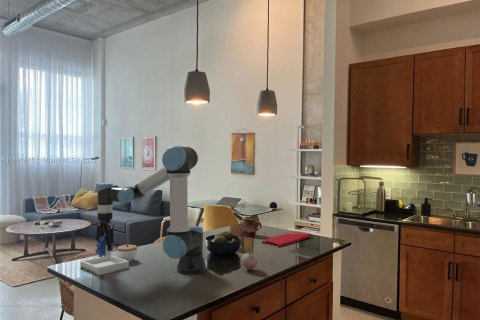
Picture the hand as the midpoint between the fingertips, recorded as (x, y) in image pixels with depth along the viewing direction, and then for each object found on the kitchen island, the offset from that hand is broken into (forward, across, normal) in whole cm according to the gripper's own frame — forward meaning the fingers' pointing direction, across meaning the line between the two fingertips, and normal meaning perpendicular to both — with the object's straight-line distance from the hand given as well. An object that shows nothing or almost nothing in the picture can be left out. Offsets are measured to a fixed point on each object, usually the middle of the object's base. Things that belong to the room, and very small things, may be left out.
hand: (104, 255), depth 191 cm
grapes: (+1, 0, 0) cm, 1 cm away
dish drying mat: (+7, -38, -120) cm, 126 cm away
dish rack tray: (+7, 0, 0) cm, 7 cm away
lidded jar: (+7, +3, -16) cm, 17 cm away
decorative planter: (+7, -9, -115) cm, 115 cm away
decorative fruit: (+6, -60, -49) cm, 78 cm away
